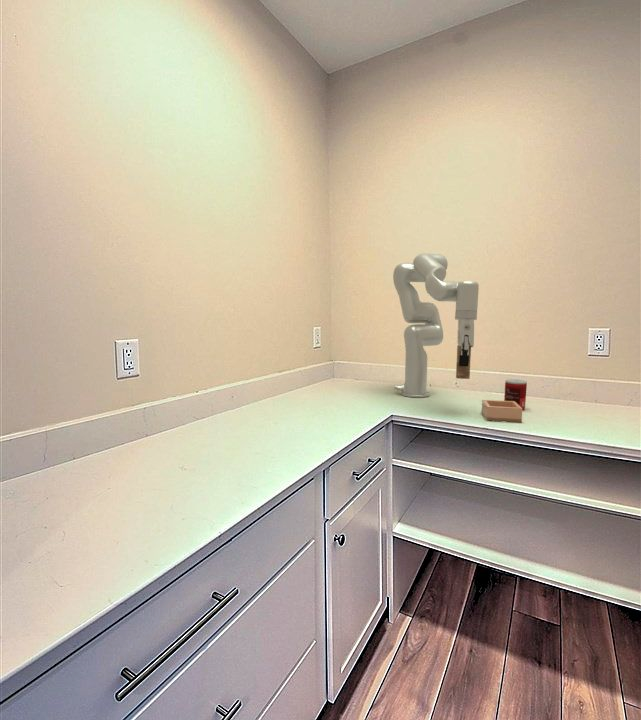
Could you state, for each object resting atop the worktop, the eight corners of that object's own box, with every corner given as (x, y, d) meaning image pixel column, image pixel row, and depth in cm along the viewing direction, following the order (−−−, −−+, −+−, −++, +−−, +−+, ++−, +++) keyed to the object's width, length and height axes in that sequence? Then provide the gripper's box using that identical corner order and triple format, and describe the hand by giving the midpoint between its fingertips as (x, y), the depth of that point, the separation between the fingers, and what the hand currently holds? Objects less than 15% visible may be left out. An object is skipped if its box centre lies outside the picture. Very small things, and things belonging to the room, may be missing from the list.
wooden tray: (486, 420, 148) (487, 406, 147) (481, 412, 159) (482, 399, 158) (521, 422, 145) (522, 408, 145) (514, 414, 157) (514, 401, 156)
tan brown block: (456, 378, 157) (458, 346, 155) (455, 376, 160) (457, 345, 158) (469, 378, 156) (471, 346, 154) (468, 377, 159) (470, 345, 157)
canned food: (520, 406, 170) (522, 379, 168) (528, 411, 162) (530, 382, 160) (500, 405, 170) (502, 378, 169) (507, 410, 162) (509, 382, 161)
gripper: (480, 316, 146) (476, 369, 148) (473, 315, 161) (470, 362, 164) (457, 316, 147) (454, 368, 150) (453, 314, 163) (450, 361, 166)
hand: (463, 364), depth 157 cm, fingers closed on tan brown block, 2 cm apart
